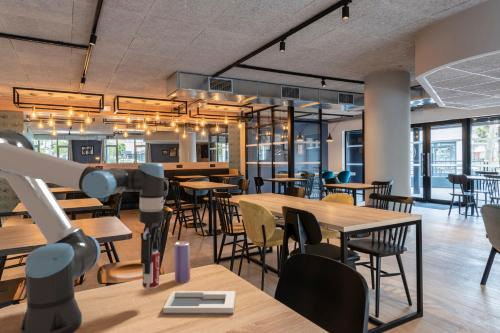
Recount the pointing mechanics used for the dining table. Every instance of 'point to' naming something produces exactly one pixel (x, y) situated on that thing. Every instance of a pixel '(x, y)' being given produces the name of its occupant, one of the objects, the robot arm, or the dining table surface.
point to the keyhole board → (200, 303)
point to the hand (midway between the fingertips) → (150, 279)
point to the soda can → (155, 271)
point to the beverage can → (182, 261)
